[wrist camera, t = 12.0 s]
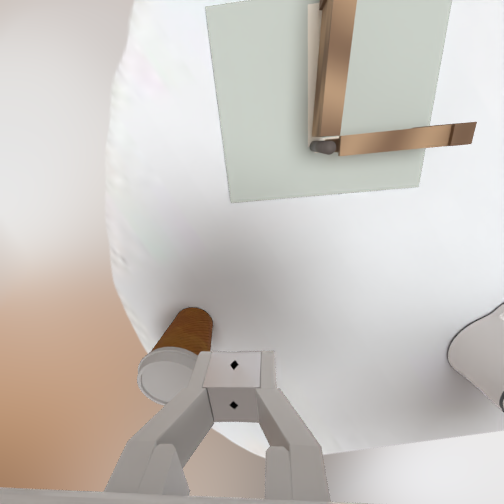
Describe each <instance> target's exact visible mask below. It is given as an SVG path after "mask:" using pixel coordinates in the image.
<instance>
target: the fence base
mask: <svg viewBox="0 0 504 504" xmlns="http://www.w3.org/2000/svg"><path fill="white" fill-rule="evenodd" d="M476 123H477V122H470V123H458V124H446V125H435V126H424V127H415V128H411V129H402V130H392V131H383V132H373V133H363V134H354V135H344V136H339V138H336V139H326V140H325V141H312V142H311V144H310V150H311V151H314V152H318V153H323V154H327V155H330V154H333V153H334V152H337V153H338V156H348V155H358V154H369V153H379V152H389V151H399V150H410V149H420V148H430V147H441V146H455V145H465V144H471V143H472V139H473V135H474V131H475V127H476Z"/></svg>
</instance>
